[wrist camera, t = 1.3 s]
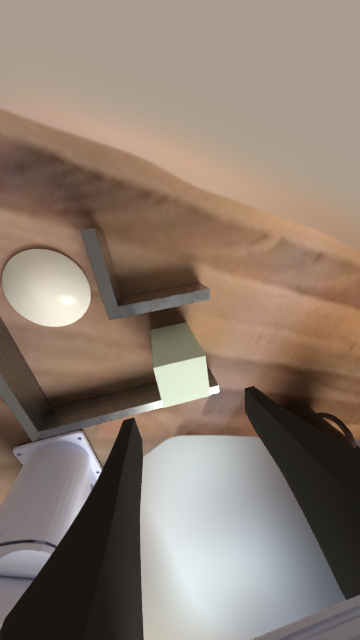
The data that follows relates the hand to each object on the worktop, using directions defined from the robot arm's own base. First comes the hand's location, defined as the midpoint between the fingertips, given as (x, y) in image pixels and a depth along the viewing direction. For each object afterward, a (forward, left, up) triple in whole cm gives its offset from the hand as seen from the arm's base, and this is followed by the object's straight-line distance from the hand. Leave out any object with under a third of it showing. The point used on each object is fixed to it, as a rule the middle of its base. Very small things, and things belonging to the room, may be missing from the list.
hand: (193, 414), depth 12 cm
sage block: (0, 0, -10) cm, 10 cm away
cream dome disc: (+8, +10, -10) cm, 16 cm away
